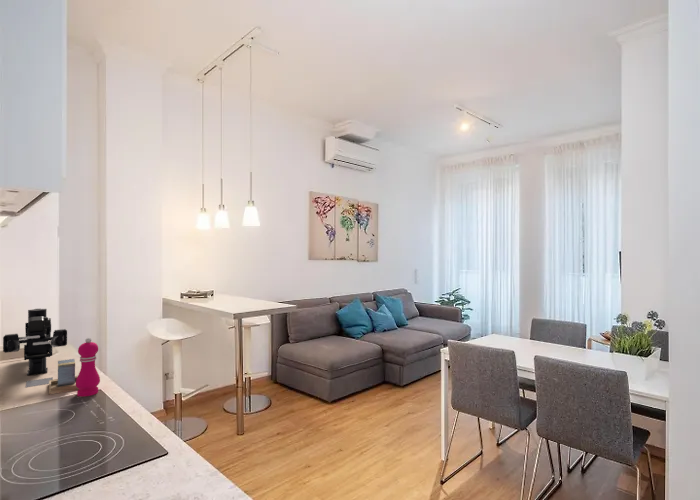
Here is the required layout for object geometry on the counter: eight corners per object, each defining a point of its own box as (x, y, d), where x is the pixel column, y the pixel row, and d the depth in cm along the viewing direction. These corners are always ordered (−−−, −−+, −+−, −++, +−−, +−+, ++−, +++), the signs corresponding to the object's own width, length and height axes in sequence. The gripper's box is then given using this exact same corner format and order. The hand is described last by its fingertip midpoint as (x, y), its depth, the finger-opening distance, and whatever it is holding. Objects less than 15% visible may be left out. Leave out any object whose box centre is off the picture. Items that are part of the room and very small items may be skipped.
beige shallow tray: (49, 385, 147) (49, 380, 147) (81, 380, 153) (81, 375, 153) (49, 395, 137) (49, 389, 137) (83, 389, 144) (83, 384, 143)
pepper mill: (104, 392, 141) (105, 337, 141) (83, 399, 135) (84, 341, 134) (91, 389, 144) (92, 334, 144) (70, 395, 138) (71, 338, 137)
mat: (26, 382, 150) (26, 381, 150) (52, 378, 155) (52, 377, 155) (25, 388, 144) (25, 387, 144) (52, 384, 148) (52, 383, 148)
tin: (57, 385, 147) (57, 360, 146) (74, 382, 150) (74, 358, 149) (57, 390, 141) (57, 365, 141) (75, 387, 144) (75, 363, 144)
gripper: (5, 318, 148) (1, 325, 135) (66, 313, 159) (67, 320, 146) (5, 347, 148) (0, 357, 135) (66, 341, 159) (67, 349, 147)
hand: (35, 345), depth 141 cm, fingers open, 9 cm apart
